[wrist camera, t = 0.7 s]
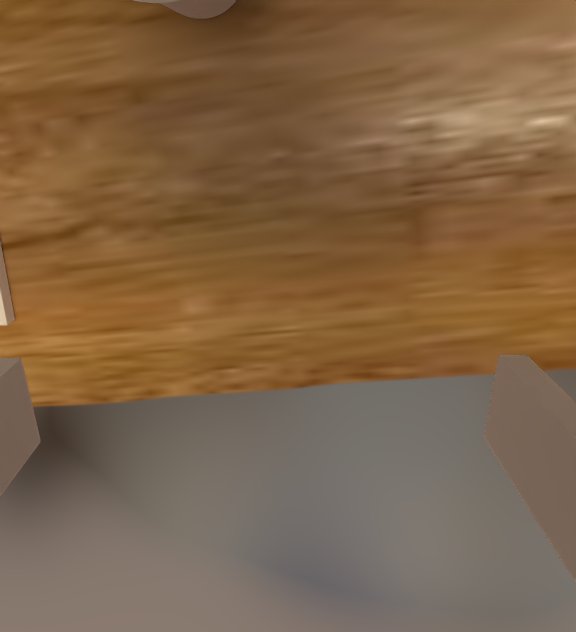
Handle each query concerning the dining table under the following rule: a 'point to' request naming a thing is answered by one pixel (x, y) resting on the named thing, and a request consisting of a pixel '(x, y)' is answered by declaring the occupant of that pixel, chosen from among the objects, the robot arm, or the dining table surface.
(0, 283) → the board
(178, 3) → the coffee cup
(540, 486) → the robot arm
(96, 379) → the dining table surface
